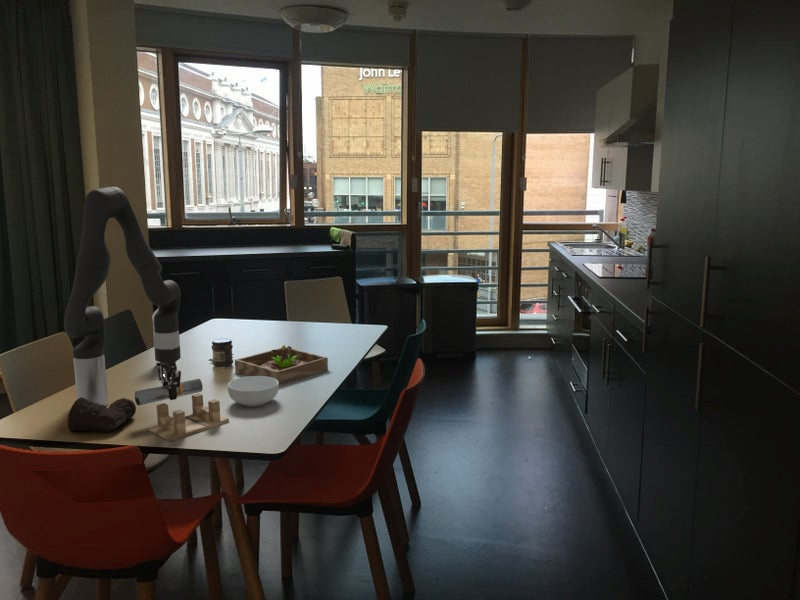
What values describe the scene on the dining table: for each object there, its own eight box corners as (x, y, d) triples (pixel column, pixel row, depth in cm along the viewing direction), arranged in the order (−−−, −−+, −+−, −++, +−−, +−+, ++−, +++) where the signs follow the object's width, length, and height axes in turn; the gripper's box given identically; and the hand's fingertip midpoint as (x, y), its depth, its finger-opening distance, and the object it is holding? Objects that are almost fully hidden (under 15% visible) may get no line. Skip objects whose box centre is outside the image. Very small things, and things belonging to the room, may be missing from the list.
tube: (140, 407, 195) (139, 394, 194) (134, 402, 198) (134, 388, 197) (202, 394, 208) (202, 381, 207) (196, 389, 211) (196, 376, 210)
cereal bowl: (256, 415, 206) (255, 393, 205) (217, 406, 214) (216, 385, 213) (289, 399, 221) (288, 379, 219) (252, 391, 228) (251, 372, 227)
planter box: (235, 372, 251) (234, 359, 250) (285, 358, 271) (285, 346, 270) (277, 385, 235) (277, 372, 235) (327, 369, 255) (327, 357, 254)
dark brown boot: (138, 394, 202) (90, 387, 201) (119, 414, 188) (67, 406, 187) (136, 422, 205) (88, 415, 204) (117, 444, 190) (65, 436, 189)
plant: (252, 379, 244) (251, 350, 242) (266, 364, 264) (265, 337, 261) (304, 379, 243) (304, 351, 241) (314, 365, 263) (313, 338, 260)
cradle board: (148, 431, 192) (147, 407, 191) (206, 412, 208) (205, 390, 206) (170, 441, 185) (169, 416, 183) (229, 421, 200) (227, 398, 199)
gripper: (146, 342, 202) (149, 393, 206) (164, 352, 192) (167, 406, 195) (169, 338, 207) (172, 388, 211) (188, 347, 197) (190, 400, 200)
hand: (169, 397), depth 203 cm, fingers closed on tube, 4 cm apart
